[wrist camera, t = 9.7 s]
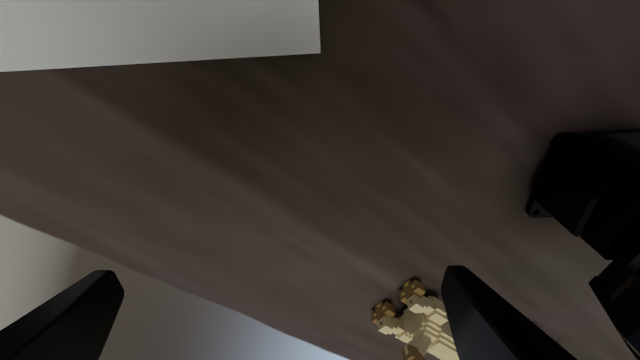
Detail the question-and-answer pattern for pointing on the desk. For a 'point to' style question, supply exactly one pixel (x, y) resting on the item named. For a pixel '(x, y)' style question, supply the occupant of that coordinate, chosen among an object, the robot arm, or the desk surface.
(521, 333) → the robot arm
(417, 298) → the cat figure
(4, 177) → the desk surface
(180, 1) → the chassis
